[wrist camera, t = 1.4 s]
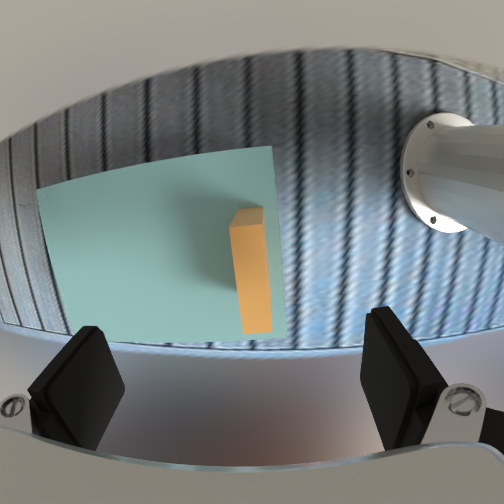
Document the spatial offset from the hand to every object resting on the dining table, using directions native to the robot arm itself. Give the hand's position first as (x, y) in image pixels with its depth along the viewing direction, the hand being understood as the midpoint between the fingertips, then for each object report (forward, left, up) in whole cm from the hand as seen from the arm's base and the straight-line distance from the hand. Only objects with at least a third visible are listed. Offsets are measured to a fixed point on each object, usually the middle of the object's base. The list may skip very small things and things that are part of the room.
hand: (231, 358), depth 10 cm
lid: (+7, 0, -14) cm, 16 cm away
